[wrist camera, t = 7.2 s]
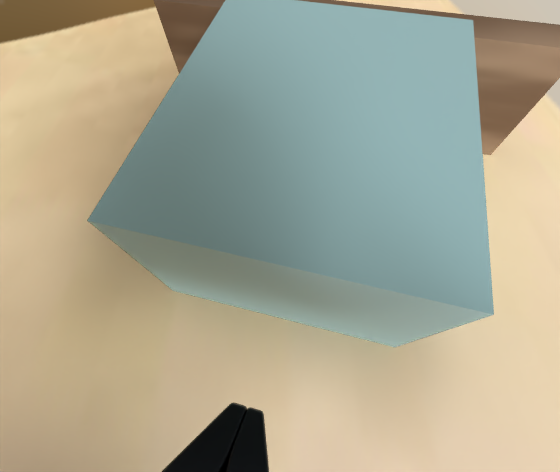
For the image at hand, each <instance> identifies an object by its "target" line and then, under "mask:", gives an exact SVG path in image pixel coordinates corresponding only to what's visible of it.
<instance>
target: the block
mask: <svg viewBox="0 0 560 472" xmlns="http://www.w3.org/2000/svg"><path fill="white" fill-rule="evenodd" d="M87 221H88V222H90V223H91V224H92V225H93V226H95V227H96V228H97V229H98V230H99V231H101V232H102V233H103V234H104V235H106V236H107V237H108V238H109V239H110V240H112V241H113V242H114V243H115V244H117V245H118V246H119V247H120V248H122V249H123V250H124V251H125V252H126V253H128V254H129V255H130V256H131V257H133V258H134V259H135V260H136V261H137V262H139V263H140V264H141V265H142V266H144V267H145V268H146V269H147V270H148V271H150V272H151V273H152V274H153V275H155V276H156V277H157V278H158V279H159V280H161V281H162V282H163V283H164V284H166V285H167V286H168V287H169V288H170V289H172V290H173V291H176V292H180V293H184V294H188V295H192V296H196V297H200V298H204V299H208V300H212V301H216V302H219V303H223V304H227V305H231V306H235V307H239V308H243V309H247V310H251V311H255V312H259V313H263V314H267V315H270V316H274V317H278V318H282V319H286V320H290V321H294V322H298V323H302V324H306V325H310V326H314V327H318V328H321V329H325V330H329V331H333V332H337V333H341V334H345V335H349V336H353V337H357V338H361V339H365V340H369V341H372V342H376V343H380V344H384V345H388V346H392V347H397V346H400V345H403V344H406V343H409V342H412V341H415V340H418V339H421V338H424V337H427V336H430V335H433V334H436V333H439V332H443V331H446V330H449V329H452V328H455V327H458V326H461V325H464V324H467V323H470V322H473V321H476V320H479V319H482V318H485V317H488V316H491V315H494V310H493V296H492V282H491V267H490V253H489V239H488V225H487V211H486V196H485V182H484V168H483V154H482V140H481V125H480V111H479V97H478V83H477V69H476V54H475V40H474V26H473V20H468V19H459V18H450V17H441V16H432V15H423V14H414V13H405V12H396V11H387V10H378V9H369V8H360V7H351V6H343V5H334V4H325V3H316V2H307V1H298V0H225V2H224V3H223V5H222V7H221V8H220V10H219V11H218V13H217V15H216V16H215V18H214V19H213V21H212V22H211V24H210V26H209V27H208V29H207V30H206V32H205V34H204V35H203V37H202V38H201V40H200V42H199V43H198V45H197V46H196V48H195V50H194V51H193V53H192V54H191V56H190V58H189V59H188V61H187V62H186V64H185V66H184V67H183V69H182V70H181V72H180V74H179V75H178V77H177V78H176V80H175V81H174V83H173V85H172V86H171V88H170V89H169V91H168V93H167V94H166V96H165V97H164V99H163V101H162V102H161V104H160V105H159V107H158V109H157V110H156V112H155V113H154V115H153V117H152V118H151V120H150V121H149V123H148V125H147V126H146V128H145V129H144V131H143V133H142V134H141V136H140V137H139V139H138V140H137V142H136V144H135V145H134V147H133V148H132V150H131V152H130V153H129V155H128V156H127V158H126V160H125V161H124V163H123V164H122V166H121V168H120V169H119V171H118V172H117V174H116V176H115V177H114V179H113V180H112V182H111V184H110V185H109V187H108V188H107V190H106V192H105V193H104V195H103V196H102V198H101V200H100V201H99V203H98V204H97V206H96V207H95V209H94V211H93V212H92V214H91V215H90V217H89V219H88V220H87Z"/></svg>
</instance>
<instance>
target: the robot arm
mask: <svg viewBox="0 0 560 472" xmlns="http://www.w3.org/2000/svg"><path fill="white" fill-rule="evenodd" d="M162 472H269V466H268V455H267V445H266V434H265V424H264V414H263V412H262V411H261V410H257V409H254V408H248V409H247V407H246V406H244V405H241V404H237V403H231V404H230V405H229V406H228V407H227V408H226V409H225V410H224V411H223V412H222V413H221V414H219V415H218V416H217V417H216V418H215V419H214V420H213V421H212V422H211V423H210V424H209V425H208V426H207V427H206V428H205V429H204V430H203V431H202V432H201V433H200V434H199V435H198V436H197V437H196V438H195V439H194V440H193V441H192V442H191V443H190V444H189V445H188V446H187V447H186V448H185V449H184V450H183V451H182V452H181V453H180V454H179V455H178V456H177V457H176V458H175V459H174V460H173V461H172V462H171V463H170V464H169V465H168V466H167V467H166V468H165V469H164V470H163V471H162Z"/></svg>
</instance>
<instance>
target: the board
mask: <svg viewBox="0 0 560 472" xmlns="http://www.w3.org/2000/svg"><path fill="white" fill-rule="evenodd" d="M298 1H307V2H316V3H325V4H334V5H343V6H351V7H360V8H369V9H378V10H387V11H396V12H405V13H414V14H423V15H432V16H441V17H450V18H459V19H468V20H473V26H474V40H475V54H476V69H477V83H478V97H479V111H480V125H481V140H482V154H488V155H491V154H492V153H493V152H494V150H495V149H496V148H497V147H498V146H499V145H500V144H501V143H502V142H503V140H504V139H505V138H506V137H507V136H508V135H509V134H510V133H511V131H512V130H513V129H514V128H515V127H516V126H517V125H518V124H519V123H520V121H521V120H522V119H523V118H524V117H525V116H526V115H527V114H528V112H529V111H530V110H531V109H532V108H533V107H534V106H535V105H536V104H537V102H538V101H539V100H540V99H541V98H542V97H543V96H544V95H545V93H546V92H547V91H548V90H549V89H550V88H551V87H552V86H553V85H554V83H555V82H556V81H557V80H558V79H559V78H560V25H556V24H547V23H538V22H529V21H519V20H509V19H501V18H491V17H483V16H473V15H464V14H455V13H446V12H437V11H428V10H418V9H409V8H400V7H391V6H382V5H373V4H363V3H354V2H345V1H336V0H298ZM154 2H155V5H156V8H157V11H158V14H159V17H160V20H161V23H162V25H163V28H164V31H165V34H166V37H167V40H168V43H169V46H170V49H171V51H172V54H173V57H174V60H175V63H176V66H177V69H178V72H179V74H180V72H181V70H182V69H183V67H184V66H185V64H186V62H187V61H188V59H189V58H190V56H191V54H192V53H193V51H194V50H195V48H196V46H197V45H198V43H199V42H200V40H201V38H202V37H203V35H204V34H205V32H206V30H207V29H208V27H209V26H210V24H211V22H212V21H213V19H214V18H215V16H216V15H217V13H218V11H219V10H220V8H221V7H222V5H223V3H224V2H225V0H154Z"/></svg>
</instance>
